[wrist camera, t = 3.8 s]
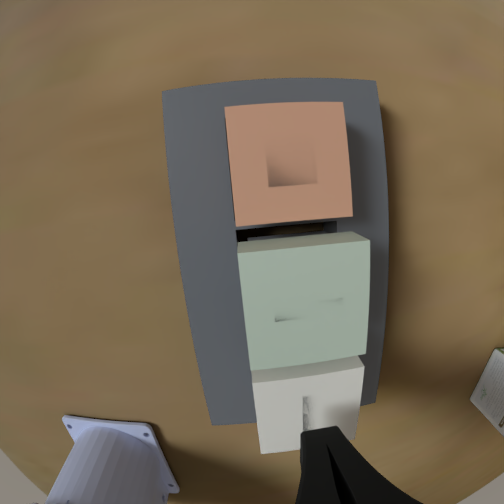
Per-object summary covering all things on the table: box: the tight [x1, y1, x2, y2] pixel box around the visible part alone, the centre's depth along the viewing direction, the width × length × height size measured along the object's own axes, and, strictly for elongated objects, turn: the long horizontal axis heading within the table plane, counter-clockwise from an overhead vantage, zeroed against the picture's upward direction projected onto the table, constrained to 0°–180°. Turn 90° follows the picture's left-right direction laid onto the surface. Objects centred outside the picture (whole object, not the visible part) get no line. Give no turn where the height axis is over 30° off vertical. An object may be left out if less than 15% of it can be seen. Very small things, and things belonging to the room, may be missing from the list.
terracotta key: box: [224, 102, 353, 227], centre depth 13 cm, size 4×4×5 cm
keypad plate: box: [162, 78, 389, 425], centre depth 16 cm, size 18×10×2 cm, turn 5°
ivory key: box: [251, 355, 365, 454], centre depth 14 cm, size 4×4×5 cm
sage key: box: [237, 231, 370, 370], centre depth 13 cm, size 4×4×5 cm
